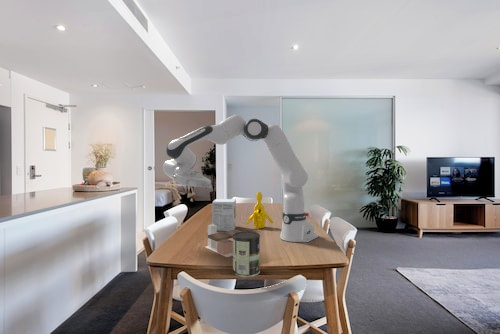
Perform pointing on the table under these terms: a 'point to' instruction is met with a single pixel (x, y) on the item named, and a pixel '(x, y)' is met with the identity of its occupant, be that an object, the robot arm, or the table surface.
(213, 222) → the supplement box
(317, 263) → the table surface
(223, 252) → the cube
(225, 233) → the shelf
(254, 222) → the figure statuette
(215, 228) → the white pillar stand
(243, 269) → the coffee can
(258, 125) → the robot arm
